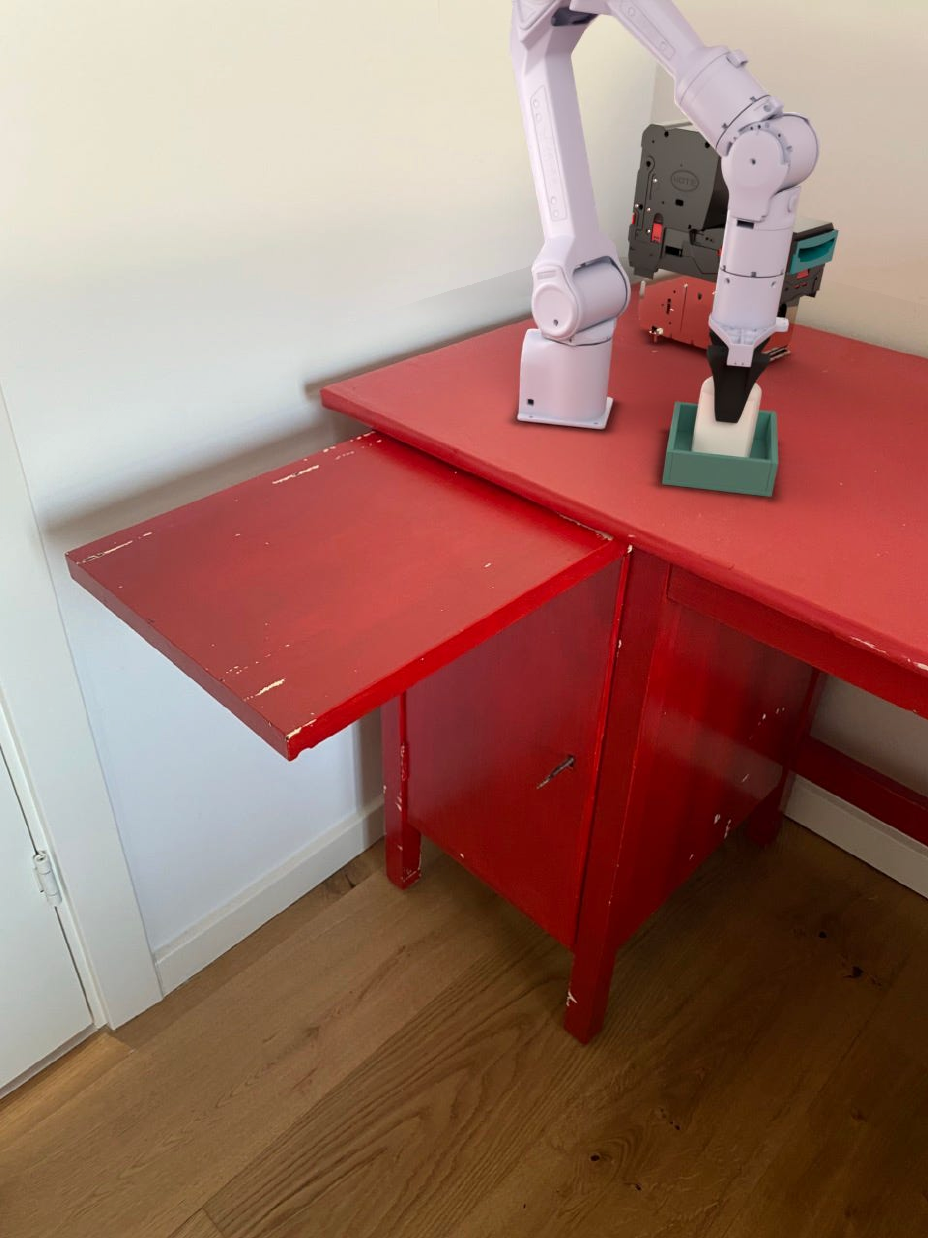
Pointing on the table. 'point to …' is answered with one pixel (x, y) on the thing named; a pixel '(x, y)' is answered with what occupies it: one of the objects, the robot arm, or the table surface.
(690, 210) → the bill acceptor
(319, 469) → the table surface
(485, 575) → the table surface
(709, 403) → the eye dropper bottle
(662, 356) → the table surface
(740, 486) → the desk tidy
